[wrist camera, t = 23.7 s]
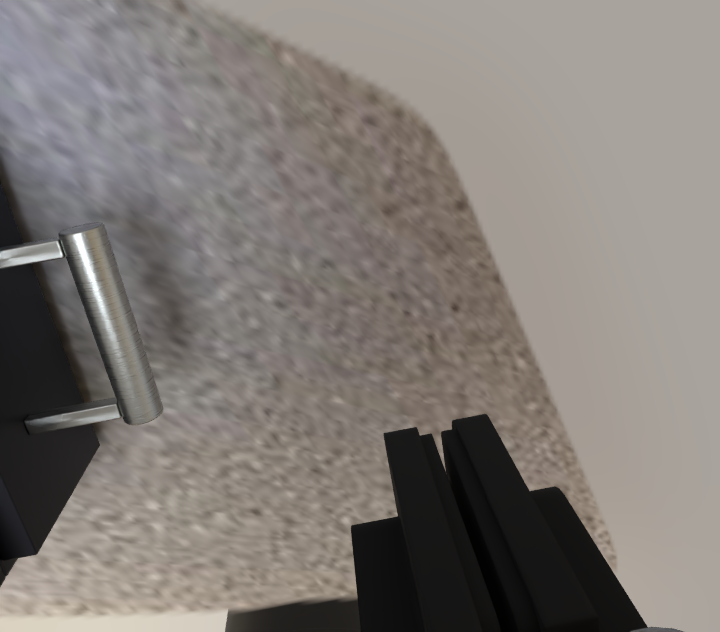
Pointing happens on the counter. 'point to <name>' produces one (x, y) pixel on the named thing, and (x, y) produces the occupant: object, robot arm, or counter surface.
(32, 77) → the counter surface
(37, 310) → the drawer
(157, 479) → the counter surface
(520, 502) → the robot arm
